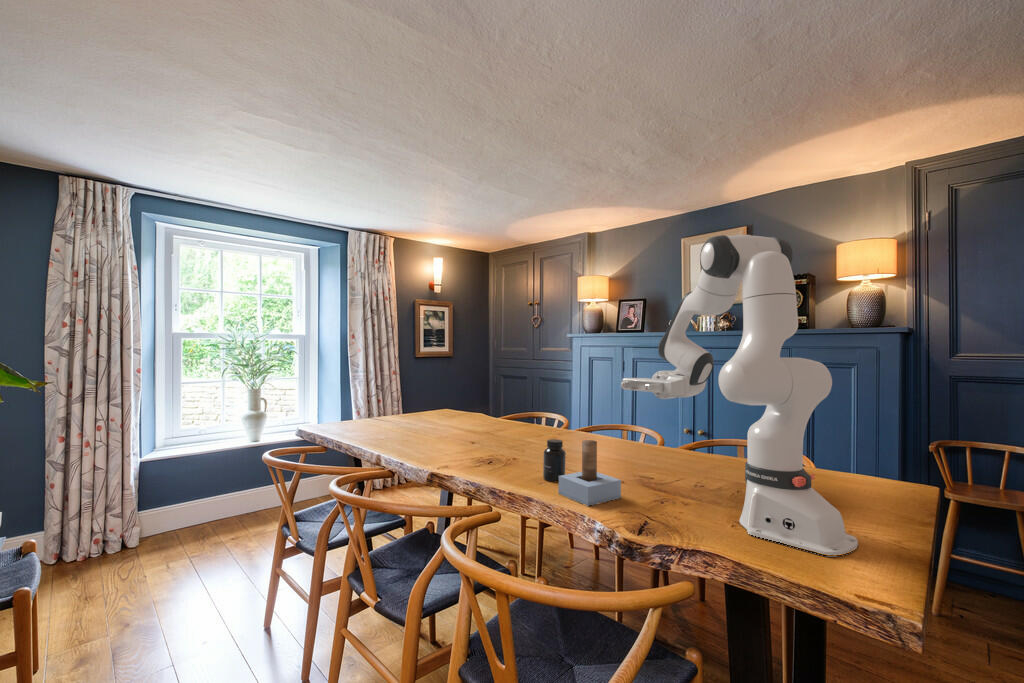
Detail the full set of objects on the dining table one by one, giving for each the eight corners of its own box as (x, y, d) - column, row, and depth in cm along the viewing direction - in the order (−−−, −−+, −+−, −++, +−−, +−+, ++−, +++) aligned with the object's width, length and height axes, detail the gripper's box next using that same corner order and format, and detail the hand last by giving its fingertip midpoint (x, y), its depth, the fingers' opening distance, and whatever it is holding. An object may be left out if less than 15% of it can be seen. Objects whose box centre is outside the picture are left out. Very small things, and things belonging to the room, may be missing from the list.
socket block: (620, 498, 125) (620, 480, 125) (587, 506, 118) (588, 487, 118) (590, 487, 135) (590, 469, 135) (558, 493, 128) (558, 475, 129)
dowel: (599, 493, 126) (599, 442, 126) (588, 495, 124) (589, 443, 124) (589, 489, 130) (589, 439, 130) (578, 491, 127) (579, 441, 128)
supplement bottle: (541, 481, 140) (541, 442, 141) (545, 475, 147) (545, 437, 147) (563, 483, 139) (564, 443, 139) (566, 477, 145) (566, 438, 146)
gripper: (639, 373, 153) (609, 374, 146) (693, 376, 136) (662, 377, 129) (639, 392, 153) (609, 394, 146) (693, 397, 136) (662, 400, 128)
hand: (634, 386), depth 137 cm, fingers open, 8 cm apart
